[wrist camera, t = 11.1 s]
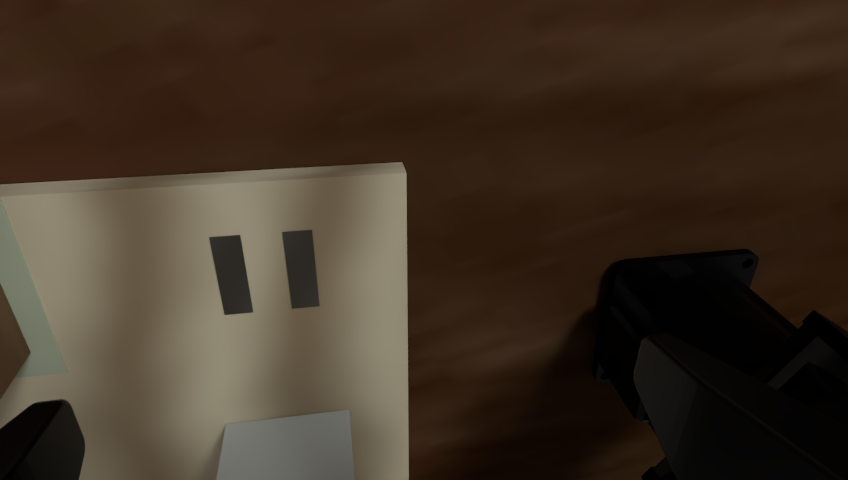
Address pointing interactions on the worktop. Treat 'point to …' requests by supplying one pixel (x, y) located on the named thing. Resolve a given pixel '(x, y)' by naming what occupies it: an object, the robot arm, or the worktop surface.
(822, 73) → the worktop surface
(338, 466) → the grey block
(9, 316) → the walnut block
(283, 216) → the board
